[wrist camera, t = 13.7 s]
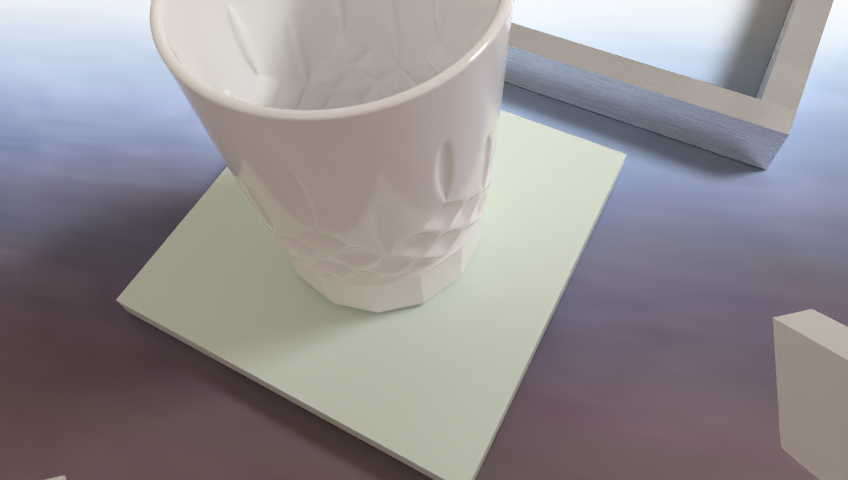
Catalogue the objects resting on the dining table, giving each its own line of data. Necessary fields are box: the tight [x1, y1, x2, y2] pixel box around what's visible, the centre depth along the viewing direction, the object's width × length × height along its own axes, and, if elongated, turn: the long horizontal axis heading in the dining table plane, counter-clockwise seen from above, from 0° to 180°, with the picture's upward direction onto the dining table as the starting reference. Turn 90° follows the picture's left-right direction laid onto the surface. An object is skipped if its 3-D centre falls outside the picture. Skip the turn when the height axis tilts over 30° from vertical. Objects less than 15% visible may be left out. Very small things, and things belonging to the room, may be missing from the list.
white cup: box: [150, 0, 514, 313], centre depth 18 cm, size 8×8×10 cm
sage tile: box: [116, 110, 626, 480], centre depth 23 cm, size 13×13×1 cm
